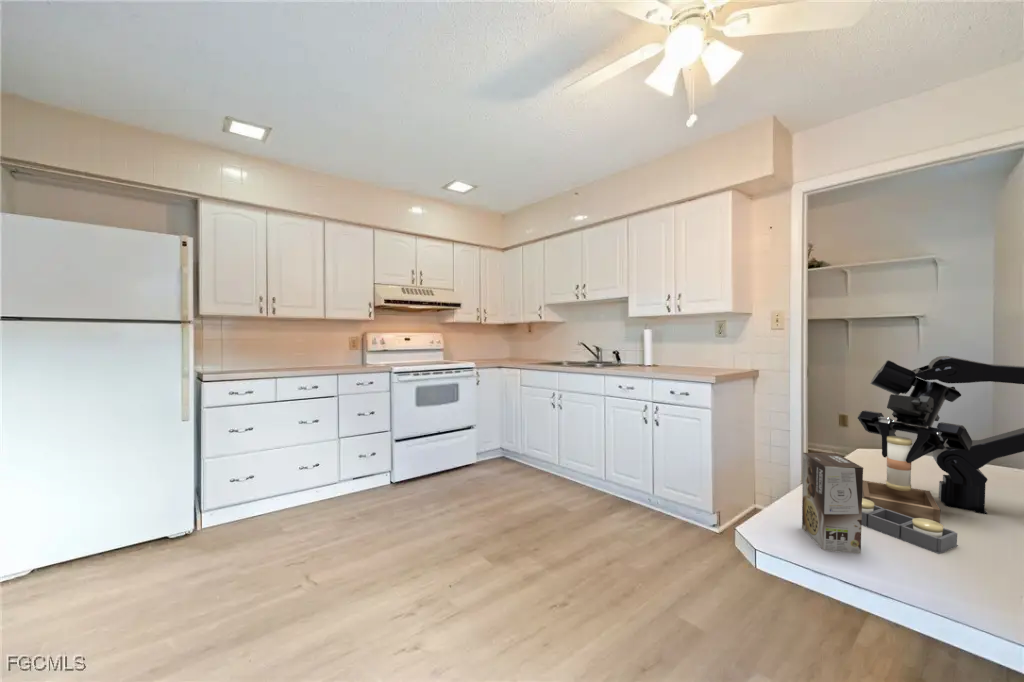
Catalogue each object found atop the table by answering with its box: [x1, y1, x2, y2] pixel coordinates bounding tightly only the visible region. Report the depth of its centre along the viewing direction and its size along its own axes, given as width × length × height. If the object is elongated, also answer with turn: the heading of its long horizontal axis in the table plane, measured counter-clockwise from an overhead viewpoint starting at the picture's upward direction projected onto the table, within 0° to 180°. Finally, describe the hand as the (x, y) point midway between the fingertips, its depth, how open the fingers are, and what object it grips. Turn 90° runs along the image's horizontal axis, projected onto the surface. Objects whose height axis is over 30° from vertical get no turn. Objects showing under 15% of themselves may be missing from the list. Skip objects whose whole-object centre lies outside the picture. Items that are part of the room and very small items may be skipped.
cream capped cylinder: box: [885, 435, 913, 491], centre depth 97 cm, size 4×4×11 cm
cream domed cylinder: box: [862, 498, 874, 513], centre depth 92 cm, size 4×4×4 cm
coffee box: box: [801, 452, 864, 554], centre depth 83 cm, size 9×6×16 cm
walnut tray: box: [862, 479, 941, 524], centre depth 97 cm, size 12×12×4 cm
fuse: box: [912, 518, 944, 538], centre depth 82 cm, size 4×4×4 cm
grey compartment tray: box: [861, 505, 959, 555], centre depth 87 cm, size 17×7×3 cm, turn 24°
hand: (895, 458), depth 96 cm, fingers closed on cream capped cylinder, 4 cm apart
